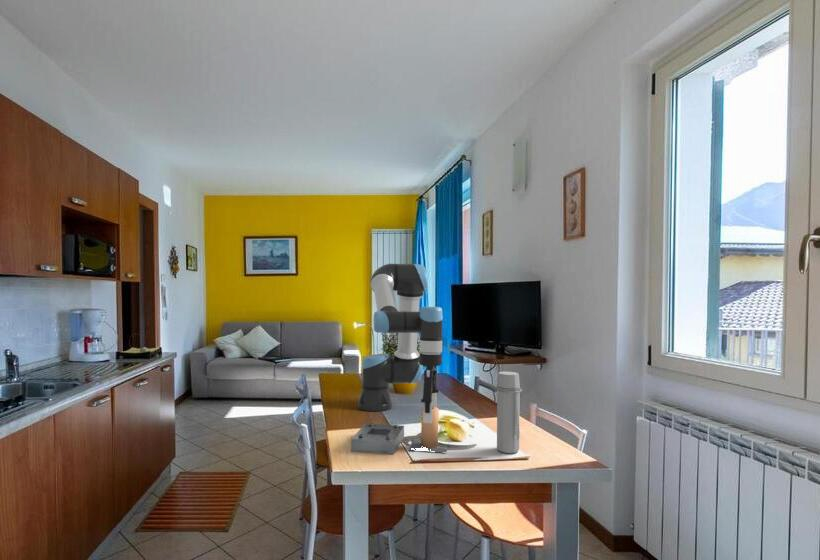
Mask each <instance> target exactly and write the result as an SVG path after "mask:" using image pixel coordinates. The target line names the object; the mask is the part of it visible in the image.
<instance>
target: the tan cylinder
mask: <svg viewBox="0 0 820 560" xmlns="http://www.w3.org/2000/svg"><path fill="white" fill-rule="evenodd" d="M439 411H440V408H439V407H437V406H436V407H434V405H432V423H423V406H422V408H421V425H420V429H421V430H420V439H421V446H423V447H426V448H434V447H437V445H438V440H439V418H440V417H439V415H440V413H439Z"/></svg>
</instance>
